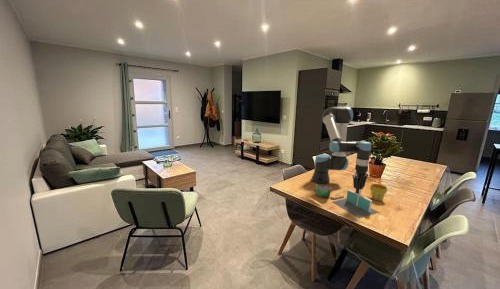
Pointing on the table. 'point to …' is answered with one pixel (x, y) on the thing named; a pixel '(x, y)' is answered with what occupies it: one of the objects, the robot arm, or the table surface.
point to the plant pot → (378, 191)
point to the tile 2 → (364, 203)
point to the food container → (322, 191)
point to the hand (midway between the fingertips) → (357, 197)
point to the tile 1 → (352, 197)
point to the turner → (337, 197)
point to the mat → (354, 208)
